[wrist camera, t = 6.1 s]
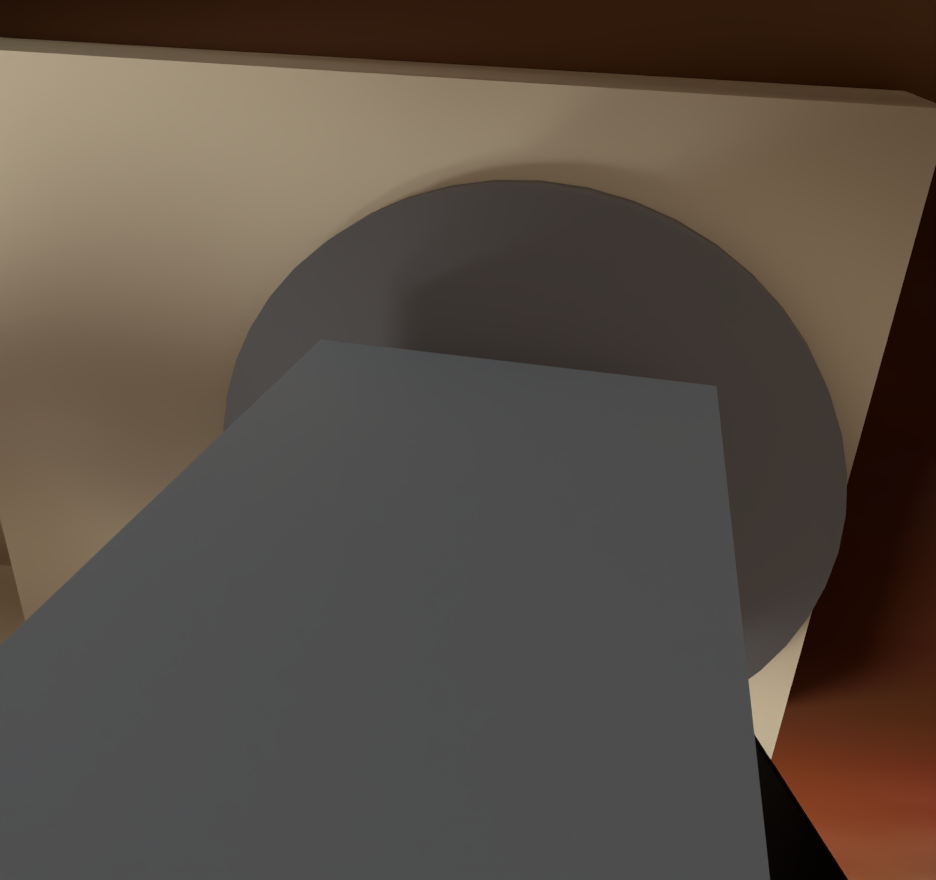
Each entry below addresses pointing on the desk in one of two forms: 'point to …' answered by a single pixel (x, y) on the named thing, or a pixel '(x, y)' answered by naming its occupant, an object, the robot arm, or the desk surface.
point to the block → (402, 644)
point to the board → (349, 200)
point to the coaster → (592, 346)
